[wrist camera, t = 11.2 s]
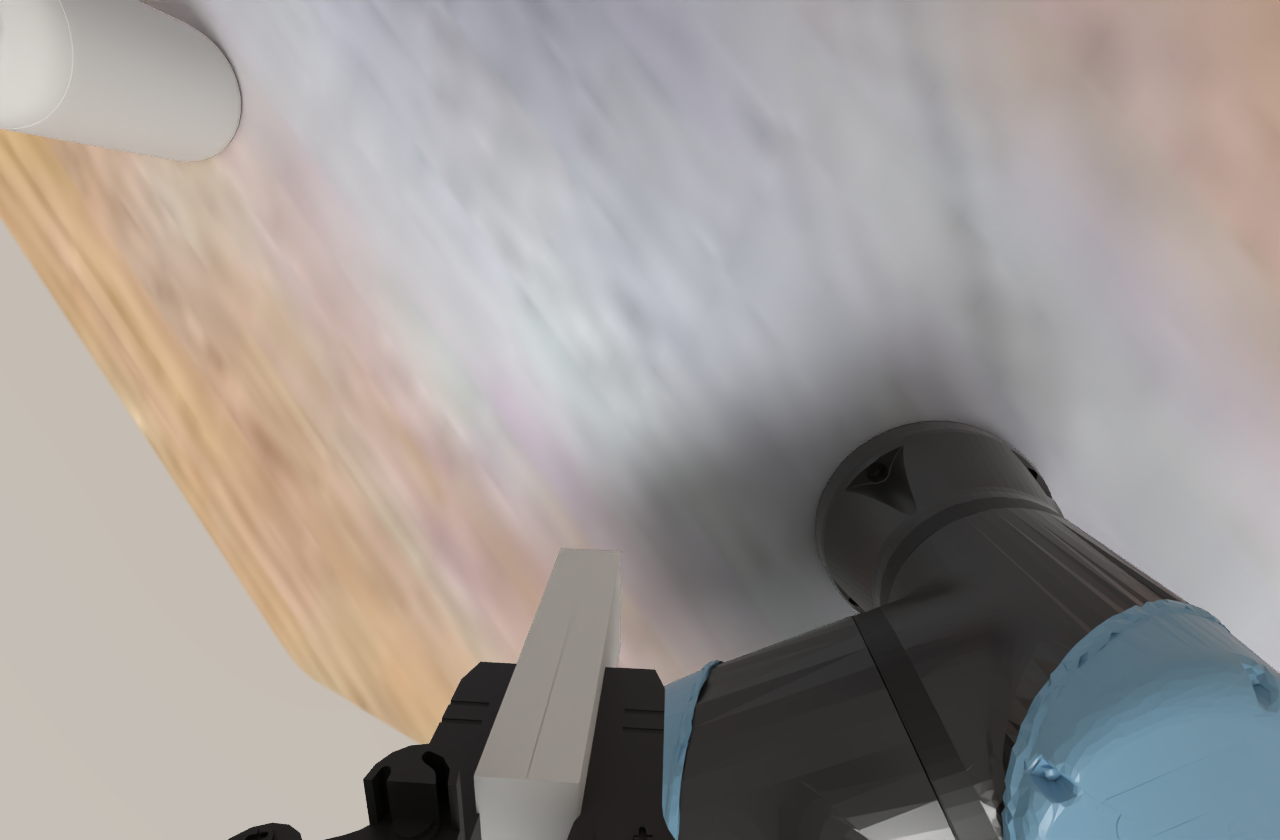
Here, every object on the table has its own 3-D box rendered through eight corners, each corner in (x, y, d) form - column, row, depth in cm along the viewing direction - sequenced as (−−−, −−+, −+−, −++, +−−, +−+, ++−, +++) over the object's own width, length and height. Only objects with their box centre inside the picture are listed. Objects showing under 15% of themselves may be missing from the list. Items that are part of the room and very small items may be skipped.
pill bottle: (250, 40, 35) (-38, -99, 21) (241, 178, 38) (-24, 138, 23) (121, 2, 35) (-259, -164, 21) (120, 143, 38) (-223, 81, 23)
